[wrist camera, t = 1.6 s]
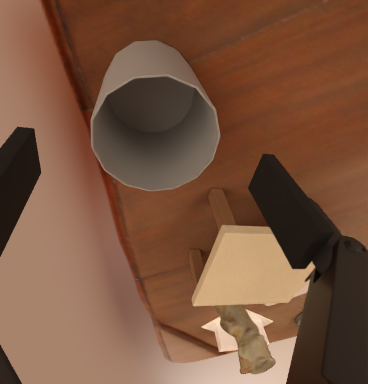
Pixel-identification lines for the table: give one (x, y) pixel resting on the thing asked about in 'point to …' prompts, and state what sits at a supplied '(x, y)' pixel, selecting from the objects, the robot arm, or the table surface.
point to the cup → (153, 119)
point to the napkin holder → (228, 341)
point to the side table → (242, 264)
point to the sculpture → (246, 339)
